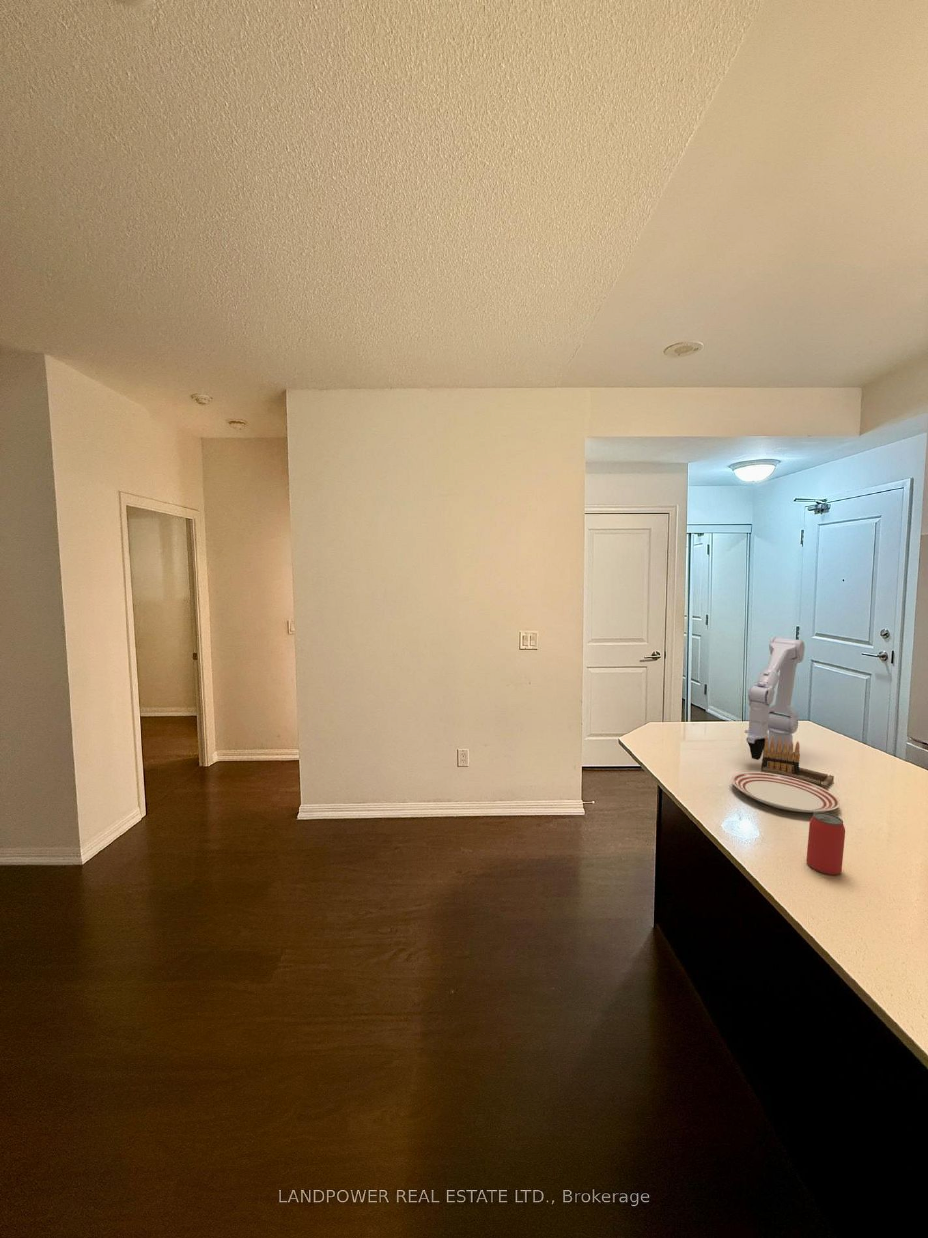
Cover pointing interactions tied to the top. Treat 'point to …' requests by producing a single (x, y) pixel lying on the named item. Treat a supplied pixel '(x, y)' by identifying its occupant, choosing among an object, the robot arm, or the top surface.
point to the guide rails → (811, 776)
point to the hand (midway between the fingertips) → (755, 758)
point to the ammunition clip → (781, 756)
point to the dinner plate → (785, 792)
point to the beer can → (826, 843)
